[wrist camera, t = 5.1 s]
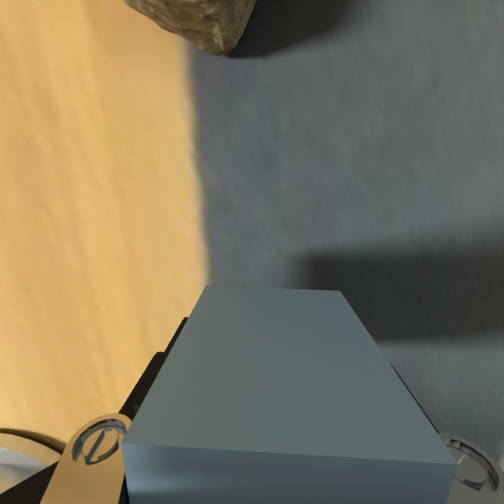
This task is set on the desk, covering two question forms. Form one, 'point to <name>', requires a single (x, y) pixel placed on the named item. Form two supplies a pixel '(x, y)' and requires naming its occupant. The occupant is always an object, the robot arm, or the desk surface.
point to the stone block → (200, 20)
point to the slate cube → (281, 411)
